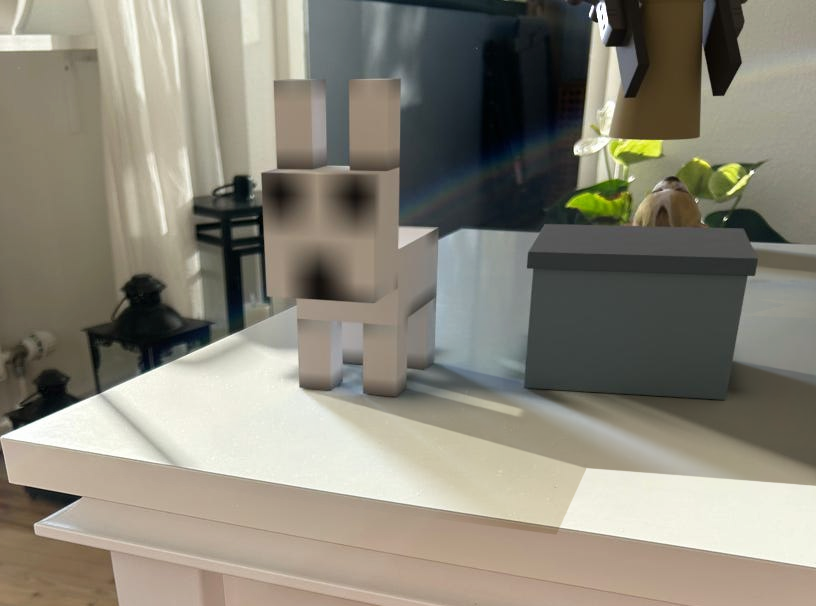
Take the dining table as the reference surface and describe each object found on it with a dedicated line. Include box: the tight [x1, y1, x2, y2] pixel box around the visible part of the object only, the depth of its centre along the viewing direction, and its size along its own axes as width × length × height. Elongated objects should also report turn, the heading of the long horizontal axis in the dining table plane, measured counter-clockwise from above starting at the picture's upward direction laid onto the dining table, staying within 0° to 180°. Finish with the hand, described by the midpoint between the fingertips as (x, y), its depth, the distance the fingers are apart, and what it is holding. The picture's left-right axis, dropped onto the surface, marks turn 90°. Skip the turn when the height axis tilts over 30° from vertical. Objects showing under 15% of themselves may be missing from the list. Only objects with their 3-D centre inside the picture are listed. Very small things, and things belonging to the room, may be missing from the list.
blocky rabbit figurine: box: [260, 77, 440, 398], centre depth 72 cm, size 8×18×20 cm, turn 159°
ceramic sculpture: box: [620, 175, 711, 228], centre depth 118 cm, size 11×9×15 cm
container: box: [523, 223, 759, 401], centre depth 76 cm, size 15×13×10 cm
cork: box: [608, 0, 705, 141], centre depth 67 cm, size 6×6×11 cm
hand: (682, 79), depth 65 cm, fingers closed on cork, 5 cm apart
